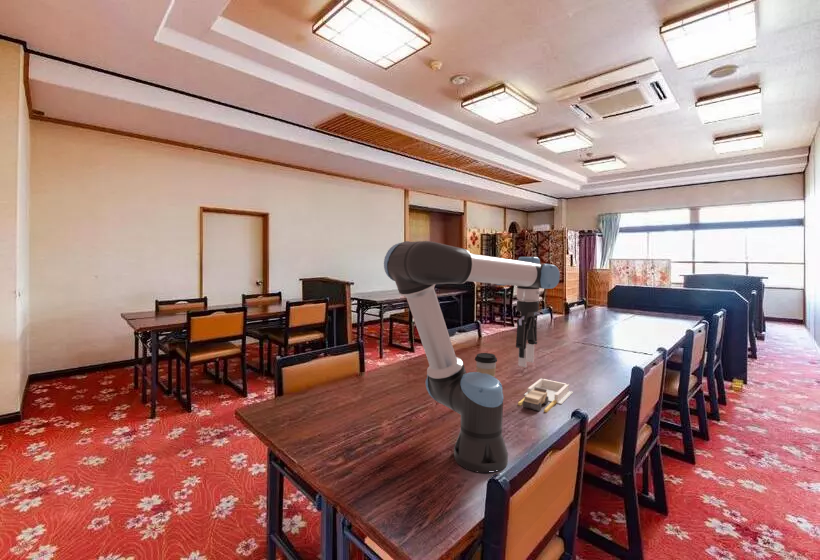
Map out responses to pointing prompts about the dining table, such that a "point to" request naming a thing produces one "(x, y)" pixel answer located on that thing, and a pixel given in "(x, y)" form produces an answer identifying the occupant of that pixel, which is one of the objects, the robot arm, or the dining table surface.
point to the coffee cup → (486, 363)
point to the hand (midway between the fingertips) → (526, 363)
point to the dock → (551, 392)
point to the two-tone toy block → (536, 399)
